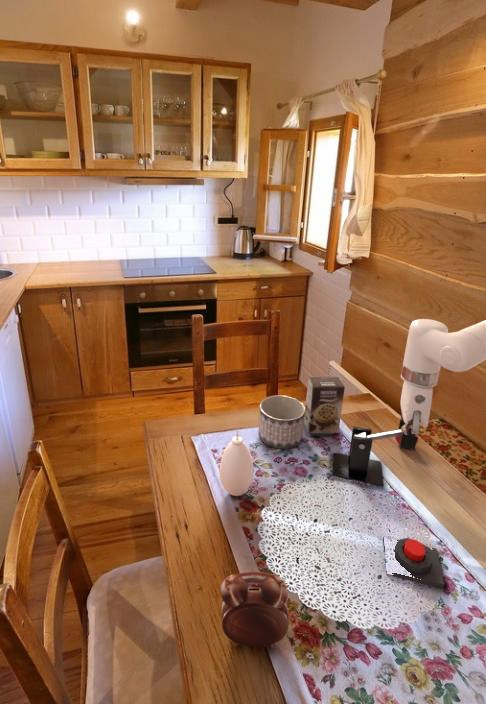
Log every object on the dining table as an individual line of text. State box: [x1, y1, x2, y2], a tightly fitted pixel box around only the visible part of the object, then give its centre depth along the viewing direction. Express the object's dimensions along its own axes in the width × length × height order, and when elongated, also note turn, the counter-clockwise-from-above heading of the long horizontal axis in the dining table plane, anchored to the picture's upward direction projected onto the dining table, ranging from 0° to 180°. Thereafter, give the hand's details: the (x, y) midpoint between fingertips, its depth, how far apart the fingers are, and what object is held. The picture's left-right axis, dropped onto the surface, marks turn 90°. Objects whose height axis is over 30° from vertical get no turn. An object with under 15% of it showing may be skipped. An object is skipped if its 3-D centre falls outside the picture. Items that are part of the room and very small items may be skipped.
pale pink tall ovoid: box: [219, 429, 255, 497], centre depth 95 cm, size 8×8×18 cm
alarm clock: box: [220, 571, 289, 648], centre depth 65 cm, size 11×5×15 cm, turn 88°
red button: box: [404, 539, 425, 562], centre depth 79 cm, size 4×4×2 cm
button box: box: [382, 537, 445, 590], centre depth 80 cm, size 10×8×3 cm
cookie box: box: [304, 376, 346, 434], centre depth 119 cm, size 9×6×16 cm
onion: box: [394, 427, 419, 446], centre depth 112 cm, size 6×6×8 cm
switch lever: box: [354, 425, 412, 442], centre depth 99 cm, size 14×3×3 cm, turn 73°
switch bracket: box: [331, 426, 384, 487], centre depth 103 cm, size 12×9×12 cm
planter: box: [257, 394, 305, 450], centre depth 116 cm, size 13×13×10 cm
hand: (406, 440), depth 98 cm, fingers open, 4 cm apart
